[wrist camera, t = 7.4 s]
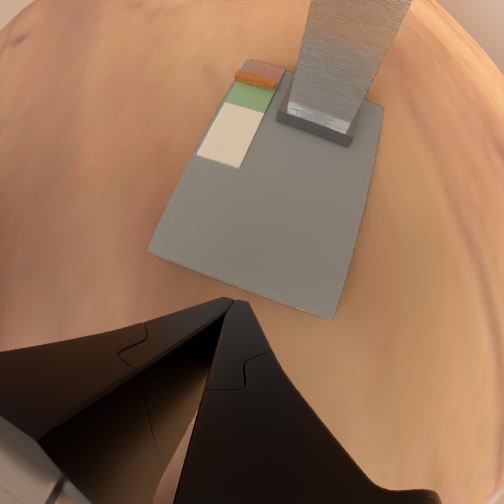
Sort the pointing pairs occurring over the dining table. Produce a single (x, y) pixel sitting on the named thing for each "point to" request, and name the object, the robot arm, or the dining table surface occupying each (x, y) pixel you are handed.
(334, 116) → the bar
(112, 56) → the dining table surface
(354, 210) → the gauge board
